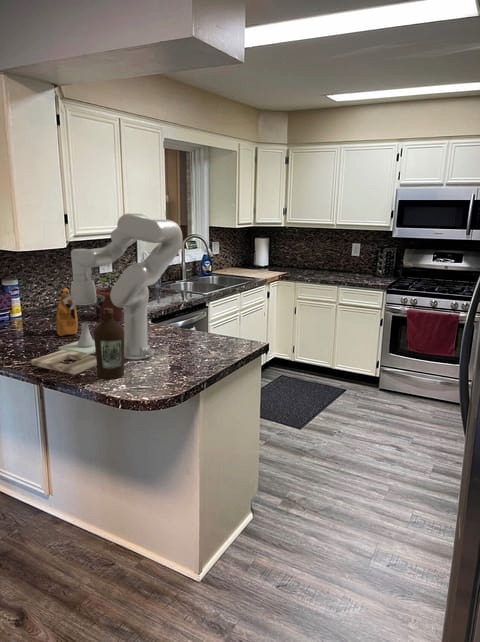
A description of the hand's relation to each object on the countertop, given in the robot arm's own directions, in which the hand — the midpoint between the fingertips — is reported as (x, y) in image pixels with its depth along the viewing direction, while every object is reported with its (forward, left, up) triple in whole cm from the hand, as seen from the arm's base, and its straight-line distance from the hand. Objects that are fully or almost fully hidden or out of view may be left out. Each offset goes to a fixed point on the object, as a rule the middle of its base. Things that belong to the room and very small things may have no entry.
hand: (85, 317), depth 199 cm
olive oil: (-32, +22, -14) cm, 41 cm away
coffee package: (+26, -14, -14) cm, 32 cm away
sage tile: (+1, 0, -14) cm, 14 cm away
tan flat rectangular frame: (-9, +20, -14) cm, 26 cm away
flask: (+1, 0, -13) cm, 13 cm away
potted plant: (+26, -47, -14) cm, 56 cm away
